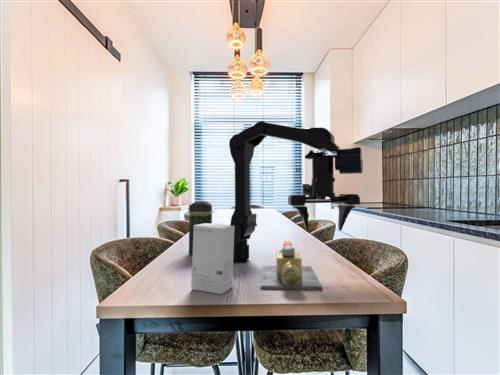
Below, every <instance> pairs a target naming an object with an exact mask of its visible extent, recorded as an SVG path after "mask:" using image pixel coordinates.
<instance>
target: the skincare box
mask: <svg viewBox="0 0 500 375" xmlns="http://www.w3.org/2000/svg"><path fill="white" fill-rule="evenodd" d="M233 254H234V226H231V225H230V224H221V223H213V222H212V223H204V224H199V225H194V232H193V255H192V260H191V261H192V262H191V263H192V264H191V283H190V288H191V290H193V291H199V292H204V293H212V294H217V295H223V294H225V292H227V291H229V290H230V289H231V288H232V287H233V275H234V262H233Z"/></svg>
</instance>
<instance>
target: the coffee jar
mask: <svg viewBox="0 0 500 375" xmlns="http://www.w3.org/2000/svg"><path fill="white" fill-rule="evenodd" d="M188 223H189V224H188V254H189V255H190V256H191V255H192V256H193V232H194V225H199V224H204V223H212V224H213V205H212V203H210V202H208V201H206V200H199V201H195V202H193V203H191V204H189V206H188Z"/></svg>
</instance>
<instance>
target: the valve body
mask: <svg viewBox="0 0 500 375" xmlns="http://www.w3.org/2000/svg"><path fill="white" fill-rule="evenodd" d="M275 256H276V259H275V261H276V263H275V264H276V265H262V266H261V276H260V289H261V290H303V291H304V290H307V291H308V290H309V291H314V290H315V291H322V290H323V285H322V284H321V282H320V280H319V278H318V276H317V274H316V273H315V271H314V269H313V268H312V266H310V265H309V266H306V265H305V266H303V265H302V261H303V260H302V256H301V254H300V253H299V252H295V255H294V256H283V255H282V249H281V250H280V251H278V252H276V255H275Z"/></svg>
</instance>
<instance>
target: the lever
mask: <svg viewBox="0 0 500 375" xmlns="http://www.w3.org/2000/svg"><path fill="white" fill-rule="evenodd" d="M292 245H293V244H292V241H291V240H290V241H289V240H284V241H283V247H282V248H281V250H282V255H283V256H294V255H295V253H296V250H295V248H294V247H292Z"/></svg>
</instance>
